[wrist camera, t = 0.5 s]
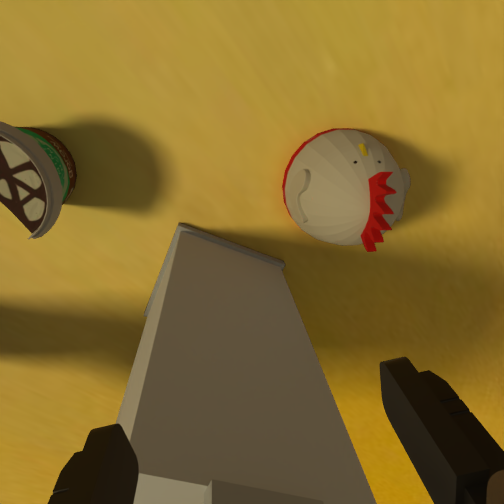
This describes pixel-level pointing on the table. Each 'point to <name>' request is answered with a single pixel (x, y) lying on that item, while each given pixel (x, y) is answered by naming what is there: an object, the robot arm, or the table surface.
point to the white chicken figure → (345, 188)
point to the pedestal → (232, 388)
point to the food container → (34, 176)
